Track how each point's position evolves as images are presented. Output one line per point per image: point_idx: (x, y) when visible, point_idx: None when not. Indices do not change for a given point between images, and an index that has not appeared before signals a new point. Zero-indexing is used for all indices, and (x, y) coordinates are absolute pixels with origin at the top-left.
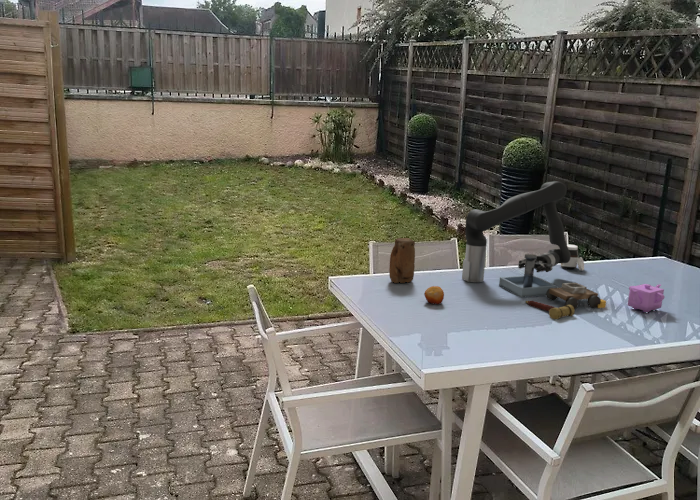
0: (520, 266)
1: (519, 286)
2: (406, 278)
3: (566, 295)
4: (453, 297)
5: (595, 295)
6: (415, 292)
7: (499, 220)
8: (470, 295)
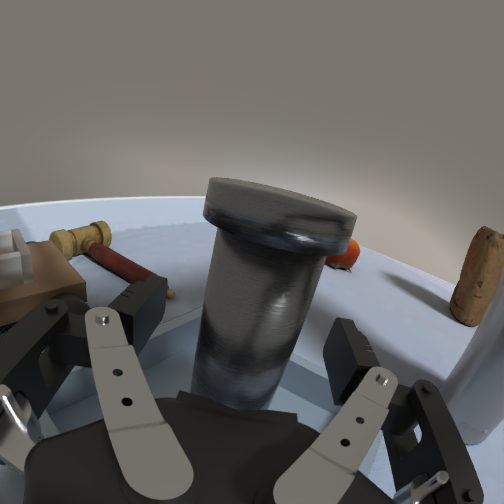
0: (329, 336)
1: None
2: (456, 305)
3: (46, 243)
4: (344, 289)
5: None
6: (399, 289)
7: None
8: (335, 307)
